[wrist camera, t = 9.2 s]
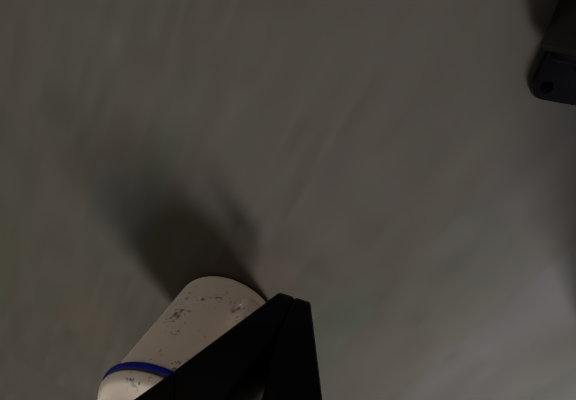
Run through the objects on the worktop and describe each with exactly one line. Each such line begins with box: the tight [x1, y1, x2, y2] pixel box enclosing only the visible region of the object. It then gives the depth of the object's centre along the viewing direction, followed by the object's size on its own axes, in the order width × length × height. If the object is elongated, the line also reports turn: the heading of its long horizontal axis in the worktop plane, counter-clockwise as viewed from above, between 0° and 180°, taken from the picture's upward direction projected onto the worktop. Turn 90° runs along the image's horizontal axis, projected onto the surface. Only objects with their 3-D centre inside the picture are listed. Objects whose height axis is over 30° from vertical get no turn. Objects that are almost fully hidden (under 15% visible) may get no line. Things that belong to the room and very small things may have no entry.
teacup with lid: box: [98, 276, 266, 400], centre depth 22 cm, size 12×9×12 cm
